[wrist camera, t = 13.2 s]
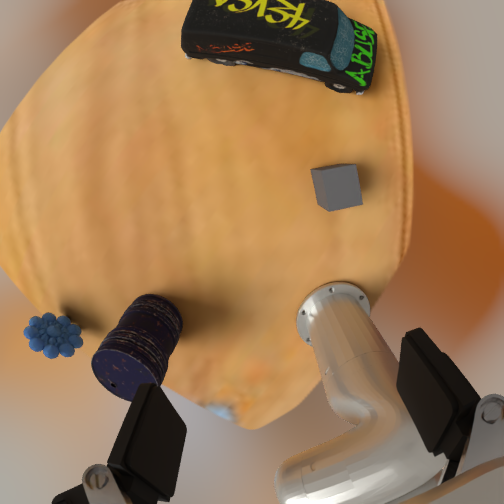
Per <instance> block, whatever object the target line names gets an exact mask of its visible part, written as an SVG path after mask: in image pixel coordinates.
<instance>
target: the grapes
mask: <svg viewBox="0 0 504 504" xmlns="http://www.w3.org/2000/svg"><path fill="white" fill-rule="evenodd" d="M70 324H71V321H70V319H69V318H68V317H67V316H60V317H58V318H57V320H56V317H55V315H54V314H52V313H49V312H48V313H45V314H44V315H43V316H42V318H40V317H37V316H34V317H32V318H31V319H30V320H29V325H30V326H28V327H26V328H25V329H24V335H25V337H26V338H28V339H30V341H29V347H30V348H31V349H32V350H34V351H36V352H39V351H41V350H43V353H44V355H45V356H46V357H48V358H50V359H53V358H56V357H58V355H59V353H60V354H61V355H62V356H64V357H71V356H72V355H74V352H75V350H74V348H80V347H81V346H82V345H83V339H82V338H81V337H80V334H81V328H80V327H79V326H78V325H76V324H71V325H70Z"/></svg>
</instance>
